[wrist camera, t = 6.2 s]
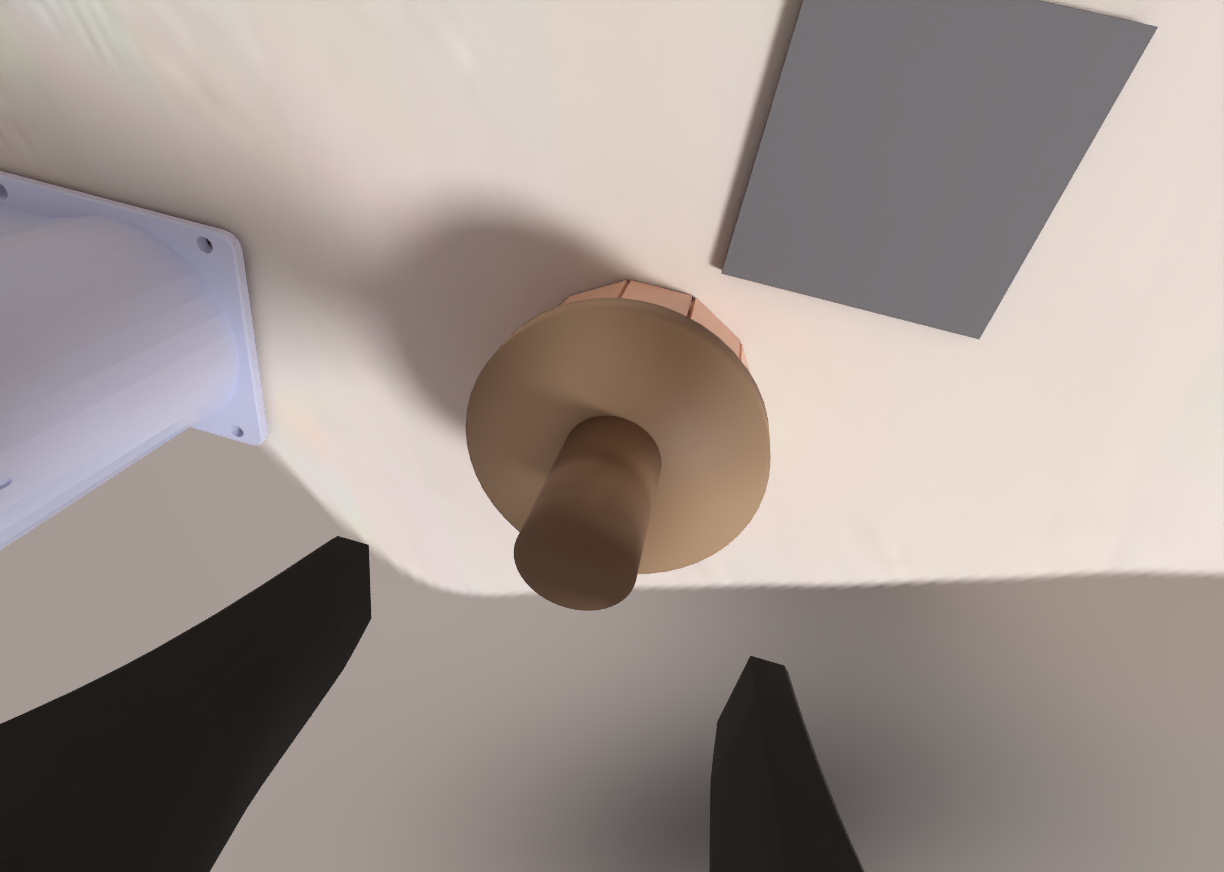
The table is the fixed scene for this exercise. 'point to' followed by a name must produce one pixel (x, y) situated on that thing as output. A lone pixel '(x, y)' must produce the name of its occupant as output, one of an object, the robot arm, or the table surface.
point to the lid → (616, 446)
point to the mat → (924, 150)
